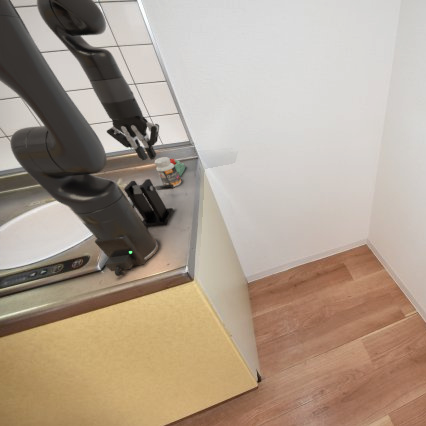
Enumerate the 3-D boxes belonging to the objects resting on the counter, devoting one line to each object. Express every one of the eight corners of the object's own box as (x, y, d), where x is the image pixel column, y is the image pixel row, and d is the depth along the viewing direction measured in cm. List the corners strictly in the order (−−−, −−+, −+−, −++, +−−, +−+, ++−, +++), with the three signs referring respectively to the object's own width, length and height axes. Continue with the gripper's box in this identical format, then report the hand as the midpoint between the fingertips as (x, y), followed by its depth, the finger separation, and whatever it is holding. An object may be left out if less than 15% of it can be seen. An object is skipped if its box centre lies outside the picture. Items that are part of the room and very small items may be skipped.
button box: (180, 176, 94) (176, 167, 91) (164, 177, 93) (159, 168, 91) (185, 167, 99) (182, 159, 97) (170, 169, 99) (166, 160, 96)
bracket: (151, 213, 76) (129, 178, 68) (174, 210, 77) (155, 176, 68) (141, 228, 71) (117, 192, 62) (166, 225, 71) (145, 189, 63)
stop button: (174, 166, 93) (172, 162, 92) (166, 167, 92) (164, 163, 91) (177, 162, 95) (175, 158, 94) (168, 163, 95) (166, 159, 94)
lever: (158, 191, 80) (157, 184, 80) (174, 189, 80) (172, 182, 80) (128, 195, 65) (126, 186, 65) (147, 193, 66) (145, 184, 65)
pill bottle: (175, 188, 87) (163, 164, 80) (161, 187, 88) (148, 163, 82) (185, 180, 91) (174, 156, 85) (172, 179, 92) (160, 155, 86)
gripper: (79, 103, 58) (119, 166, 69) (138, 99, 59) (168, 162, 70) (96, 96, 64) (131, 155, 75) (150, 92, 65) (176, 151, 76)
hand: (149, 158), depth 73 cm, fingers closed
